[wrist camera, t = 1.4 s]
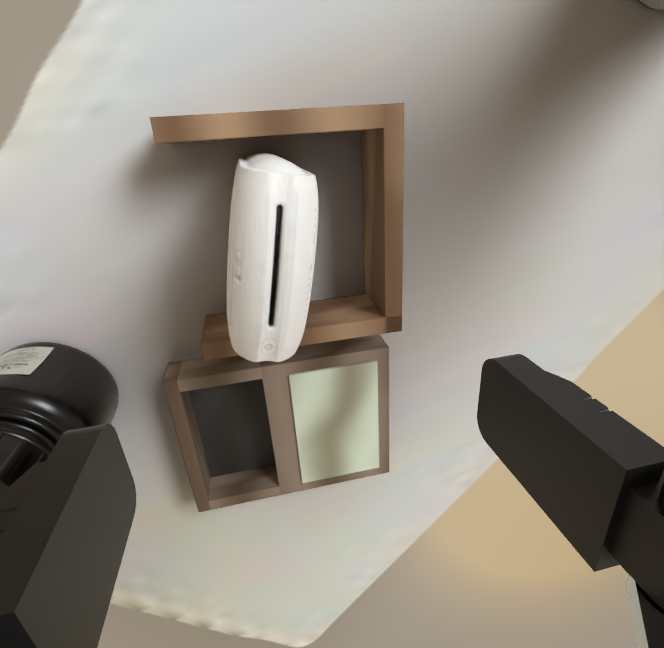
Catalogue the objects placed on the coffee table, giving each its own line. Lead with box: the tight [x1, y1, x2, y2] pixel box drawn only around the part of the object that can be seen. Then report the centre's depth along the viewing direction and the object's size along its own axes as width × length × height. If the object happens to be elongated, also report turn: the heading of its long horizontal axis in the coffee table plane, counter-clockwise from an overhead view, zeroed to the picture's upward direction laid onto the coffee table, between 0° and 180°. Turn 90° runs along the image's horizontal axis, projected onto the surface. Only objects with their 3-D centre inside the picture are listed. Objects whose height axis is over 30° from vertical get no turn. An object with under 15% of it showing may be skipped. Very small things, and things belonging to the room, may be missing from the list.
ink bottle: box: [0, 342, 118, 500], centre depth 25 cm, size 10×9×12 cm
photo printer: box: [226, 152, 318, 362], centre depth 24 cm, size 10×4×12 cm, turn 173°
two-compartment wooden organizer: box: [163, 334, 389, 512], centre depth 34 cm, size 17×13×3 cm
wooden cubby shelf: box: [150, 103, 404, 361], centre depth 27 cm, size 14×14×5 cm
